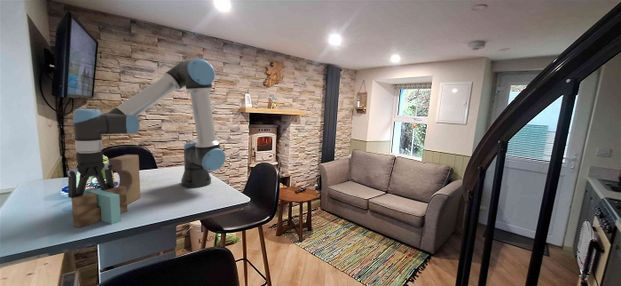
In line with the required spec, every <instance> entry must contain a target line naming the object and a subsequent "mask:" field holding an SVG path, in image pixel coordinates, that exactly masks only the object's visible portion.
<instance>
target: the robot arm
mask: <svg viewBox="0 0 621 286" xmlns="http://www.w3.org/2000/svg"><path fill="white" fill-rule="evenodd" d="M215 79H216V72H215V68H214V66H212V64H211V63H210V62H209V61H208V60H206V59H202V58H192V59H190V60H189V59H188V60H183V61H181V62H179V63H177V64H176V65H174V66H173V67H172V68H169V70H167V71H165V72H164V73H163V75H162V77H161V78H160V79H157V80H155V82H153V83H152V84H150V85H148V86H147V87H145V88H144V89H142V90H141V91H139V92H138V93H135V95H132V96H131V97H130V98H128V99H127V100H125V101H123V102H122V103H121V104H119V105H117V106H116V107H114V108H112V109H111V110H110V111H108V112H104V113H101V111H100V109H98V108H97V109H96V108H95V109H93V108H92V109H91V108H76V109H74V110H73V113H72V115H73V117H72V118H73V120H72V123H73V131H74V132H73V133H74V144H75V145H74V147H75V148H74V149H75V151H76V153H75V158H76V159H75V160H76V167H75V168H74V169H70V170H66V171H65V173H66V174H67V180H68V181H67V182H68V184H67V185H68V186H67V189H68V192H67V197H68V198H70V199H71V198H75V197H79V196H83V194H84V190H85V189H86V186H87V183H88V180H89V179H90V177H95V178H96V181H97V183H98V185H99V187H100V190H103V191H105V190H107V189H111V188H115V184H114V178H113V177H114V176H113V171H112V167H113V165H110V164H109V163H106V164H105V163H104V152H103V149H104V148H103V136H105V135H106V136H107V135H125V134H126V135H130V134H131V135H132V134H137V133H138V132H139V131H140V120H139V118H138V116H139V115H141V114H142V113H144V112H145V111H147V110H148V109H150V108H151V107H153V106H154V105H155V104H157V103H159V101H162V99H164V98H166V97H167V96H169V95H170V94H171V93H173V92H174V91H180V90H181V89H183V88H185V89H186V91H187V92H189V94H190V98H191V99H190V101H191V106H192V113H193V119H194V125H195V132H196V137H197V138H196V139H197V141H195V142H186V143H184V145H183V159H184V161H183V163H184V169H183V170H184V172H183V174H182V178H181V180H180V182H181V183H180V185H181V186H182V187H185V188H201V187H206V186H208V185H210V184H212V177H211V175H210V171H212V172H214V171H218V170H219V169H221V168H222V167H223V166H224V164H225V162H226V157H227V156H226V153H225V151H224V150H222V149H221V145H220V141H219V140H217V138H216V131H215V130H216V129H215V124H214V122H215V121H214V115H213V110H212V109H213V108H212V100H211V94H210V93H211V91H212V90H213V82H214V81H215ZM102 170H104V174H103V172H102ZM78 173H79V180H77V175H78ZM104 177H105V178H104ZM77 181H78V183H77Z"/></svg>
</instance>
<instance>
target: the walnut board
mask: <svg viewBox="0 0 621 286" xmlns="http://www.w3.org/2000/svg"><path fill="white" fill-rule="evenodd" d="M118 186H119V185H118ZM118 186H114V188H111V189H107V190H105V191H107V192H111V193H115V194H118V195H119V199H120V215H121V214H124V213H127V212H128V205H127V196H126V187H123V186H119V187H118ZM70 199H71V210H72V220H73V221H72V222H73V227H75V228H78V229H79V228H82V227H85V226H88V225H89V226H90V225H91V224H95V223H99V222H100V221H101V222H102V220H101V207H100V206H97V197H96V195H95V194H92V193H91V194H87V195H83V196H79V197H75V198H70Z"/></svg>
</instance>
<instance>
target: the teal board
mask: <svg viewBox="0 0 621 286" xmlns="http://www.w3.org/2000/svg"><path fill="white" fill-rule="evenodd" d="M91 193H92V194H95V195H96V197H97V206H100V207H101V222H105V223H106V224H111V225H113V224H116V223H119V222H121V214H120V199H119V195H118V194H115V193H111V192H107V191H103V190H102V189H98V188H95V187H90V188H85V190H84V194H83V195H87V194H91Z"/></svg>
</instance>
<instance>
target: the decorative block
mask: <svg viewBox="0 0 621 286" xmlns="http://www.w3.org/2000/svg"><path fill="white" fill-rule="evenodd" d="M107 161H108V163H107V164H110V165H113V167H112V172H115V173H117V175H118V177H119V184H118V186H117V187H119V186H123V187H126V196H127V206H128V205H129V204H131V203H133V202H135V201H137V200H139V199H141V182H140V181H141V180H140V179H141V177H140V159H139V154H124V155H120V156H116V157H115V156H114V157H113V158H109V159H107Z"/></svg>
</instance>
